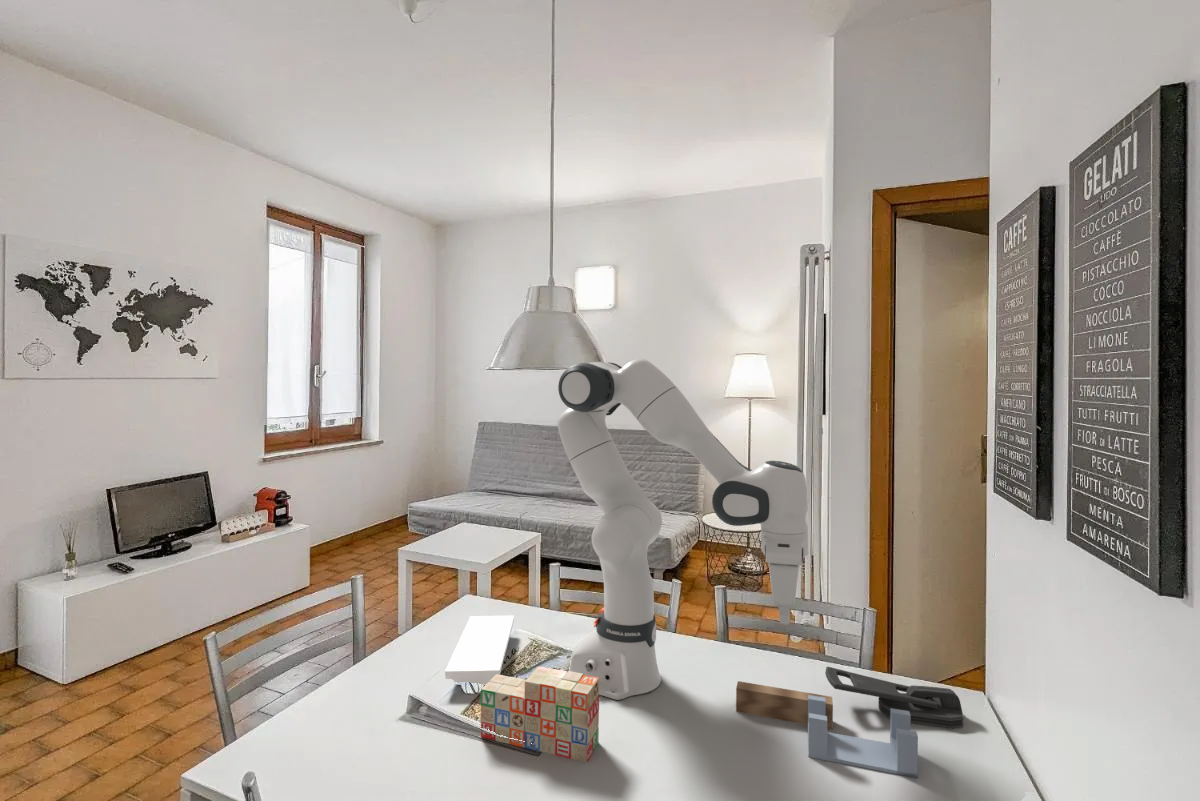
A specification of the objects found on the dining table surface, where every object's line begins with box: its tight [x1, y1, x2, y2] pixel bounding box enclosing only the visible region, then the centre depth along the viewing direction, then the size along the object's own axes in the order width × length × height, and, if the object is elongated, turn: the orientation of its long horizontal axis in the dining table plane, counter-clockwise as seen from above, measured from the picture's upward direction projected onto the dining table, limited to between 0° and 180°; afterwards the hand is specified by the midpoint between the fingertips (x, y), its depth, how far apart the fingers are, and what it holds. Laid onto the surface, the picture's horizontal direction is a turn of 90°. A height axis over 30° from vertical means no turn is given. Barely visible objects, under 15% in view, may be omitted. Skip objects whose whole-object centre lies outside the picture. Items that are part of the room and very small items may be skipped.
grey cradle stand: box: [807, 695, 919, 779], centre depth 102 cm, size 17×8×7 cm, turn 71°
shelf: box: [444, 615, 515, 684], centre depth 137 cm, size 12×30×5 cm, turn 3°
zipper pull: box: [824, 666, 964, 730], centre depth 116 cm, size 9×7×25 cm
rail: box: [735, 681, 834, 730], centre depth 114 cm, size 18×3×5 cm, turn 70°
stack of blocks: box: [479, 665, 600, 763], centre depth 106 cm, size 21×6×12 cm, turn 71°
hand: (785, 613), depth 114 cm, fingers open, 8 cm apart
